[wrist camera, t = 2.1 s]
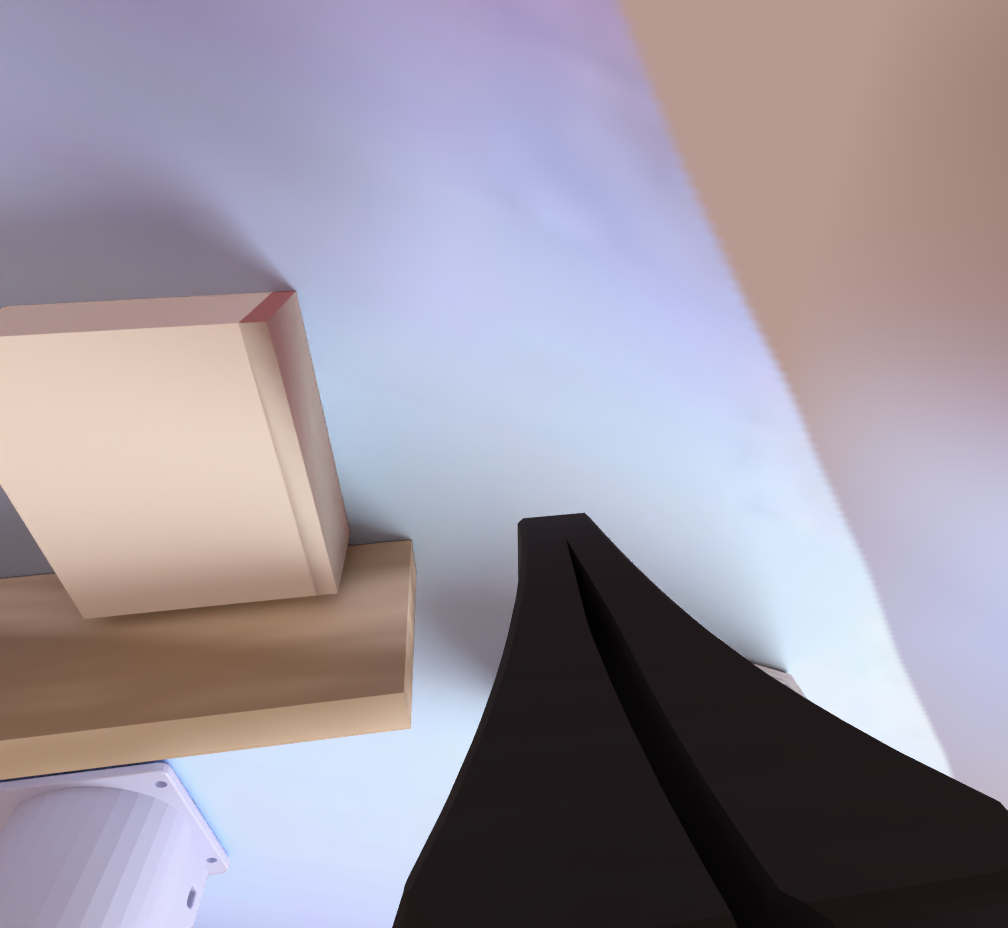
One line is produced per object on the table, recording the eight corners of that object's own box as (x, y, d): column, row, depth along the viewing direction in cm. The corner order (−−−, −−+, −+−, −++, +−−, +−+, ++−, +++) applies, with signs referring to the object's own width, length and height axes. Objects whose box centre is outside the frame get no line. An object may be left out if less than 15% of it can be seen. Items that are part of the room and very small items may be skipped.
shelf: (416, 572, 19) (410, 728, 14) (-139, 627, 17) (-374, 826, 12) (372, 277, 14) (336, 355, 9) (-431, 318, 12) (-1057, 442, 7)
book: (351, 529, 18) (337, 593, 15) (135, 549, 17) (83, 618, 15) (297, 289, 14) (267, 321, 11) (11, 304, 13) (-89, 341, 11)
